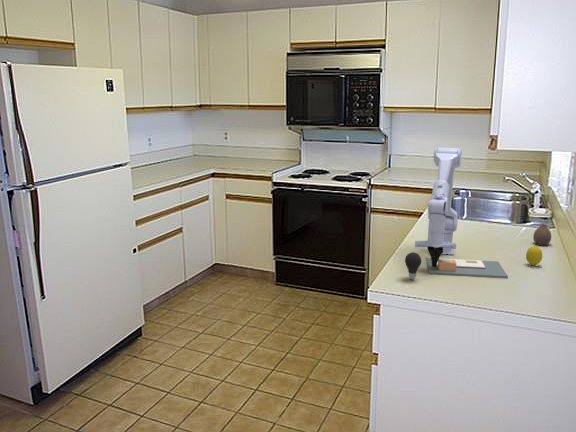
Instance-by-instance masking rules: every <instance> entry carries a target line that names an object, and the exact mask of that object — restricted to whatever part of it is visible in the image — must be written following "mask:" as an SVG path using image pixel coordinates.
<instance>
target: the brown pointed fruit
mask: <svg viewBox="0 0 576 432" xmlns="http://www.w3.org/2000/svg"><path fill="white" fill-rule="evenodd" d="M532 236H533V237H532V239H533V242H534V243H535V245H536V246H537V245H538V246H540V247H546V246H547V245H549V244H550V243H551V240H552V233H551V231H550V229H549V228H548V225H547V224H545V223H544V224H540V225H539V226H538V227H537V229H536V230H534V232H533V235H532Z"/></svg>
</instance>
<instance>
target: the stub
mask: <svg viewBox="0 0 576 432" xmlns="http://www.w3.org/2000/svg"><path fill="white" fill-rule="evenodd" d="M446 259H447V258H441V259H439V260H438V269H439V270H442V271H456V264H457V263H456V261H455V260H446Z"/></svg>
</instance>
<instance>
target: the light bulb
mask: <svg viewBox="0 0 576 432" xmlns="http://www.w3.org/2000/svg"><path fill="white" fill-rule="evenodd" d="M404 263H405V266H406V267H407V270H408V279H410V280H411V279H414V280H416V278H417V273H418V270H419V268H420V266H421V264H422V257H421V256H420V254H418V253H417V252H409V253H407V255H406V256H405V258H404Z"/></svg>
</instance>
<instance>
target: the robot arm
mask: <svg viewBox="0 0 576 432" xmlns="http://www.w3.org/2000/svg"><path fill="white" fill-rule="evenodd" d="M433 151H434V152H433V162H434V164H435V166H437V167H438V171H437V172H438V173H437V181H436V182H434V183H433V187H432V191H431V192H432V193H431V197H430V199H428V204H427V215H428V216H427V217H428V218H427V219H428V226H427V227H428V229H427V231H428V232H427V240H415V241H414V247H415V248H427V250H428V254H429V257H430V258H431V261H432V267H436V265H437V262H438V260H439V258H440V257H441V256H442V255H446V254H448V255H454V251H453V250H457V243H456V242H453V238H454V237H453V235H454V232H456V231H457V228H458V221H459V220H458V219H459V218H458V212H457V211H456V210H455V209H454V208H452V199H453V186H454V184H453V183H454V172H455V170H456V169H458V168H461V165H462V164H461V163H462V156H463V155H462V153H463V152H462V148H461V147H438V146H436V147H435V148H434V150H433ZM448 255H447V256H448Z"/></svg>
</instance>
